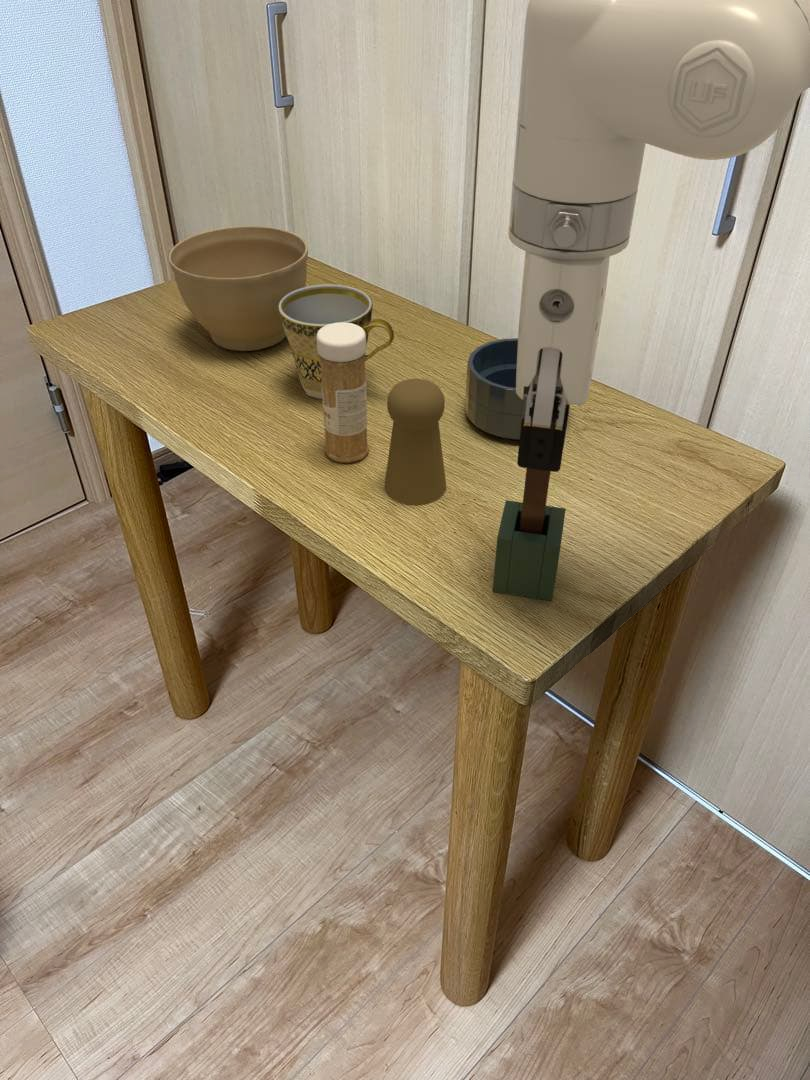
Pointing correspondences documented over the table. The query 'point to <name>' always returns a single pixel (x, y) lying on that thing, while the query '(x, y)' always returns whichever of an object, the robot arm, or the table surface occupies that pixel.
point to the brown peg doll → (415, 443)
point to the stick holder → (527, 554)
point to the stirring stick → (535, 499)
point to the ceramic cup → (316, 310)
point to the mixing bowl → (495, 389)
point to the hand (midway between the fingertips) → (540, 456)
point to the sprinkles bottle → (344, 390)
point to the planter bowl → (240, 282)
